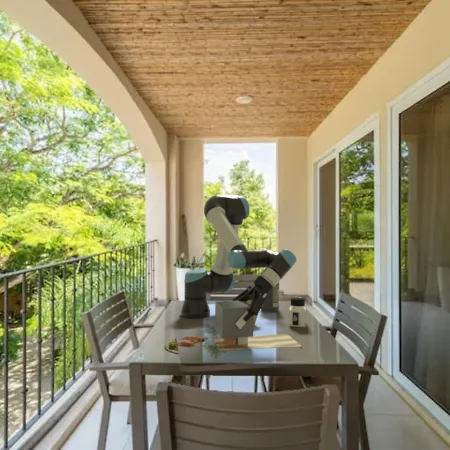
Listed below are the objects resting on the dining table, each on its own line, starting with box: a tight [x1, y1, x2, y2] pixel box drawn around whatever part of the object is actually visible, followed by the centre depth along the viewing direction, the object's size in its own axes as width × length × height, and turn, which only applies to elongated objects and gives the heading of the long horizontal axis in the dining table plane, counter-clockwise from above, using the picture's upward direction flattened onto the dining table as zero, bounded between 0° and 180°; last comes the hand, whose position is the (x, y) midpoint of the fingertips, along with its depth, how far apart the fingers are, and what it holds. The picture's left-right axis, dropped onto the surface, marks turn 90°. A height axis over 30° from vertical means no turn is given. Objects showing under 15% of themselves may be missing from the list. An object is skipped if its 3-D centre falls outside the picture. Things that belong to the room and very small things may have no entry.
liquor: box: [260, 281, 280, 313], centre depth 210 cm, size 9×9×30 cm
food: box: [165, 335, 206, 354], centre depth 147 cm, size 18×18×3 cm
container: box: [288, 296, 307, 328], centre depth 181 cm, size 8×8×13 cm
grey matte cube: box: [214, 300, 254, 338], centre depth 147 cm, size 12×12×11 cm
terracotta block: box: [223, 338, 236, 345], centre depth 147 cm, size 4×4×4 cm
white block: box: [236, 337, 248, 344], centre depth 148 cm, size 4×4×4 cm
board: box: [212, 333, 303, 352], centre depth 149 cm, size 16×32×2 cm, turn 101°
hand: (230, 321), depth 146 cm, fingers closed on grey matte cube, 13 cm apart
